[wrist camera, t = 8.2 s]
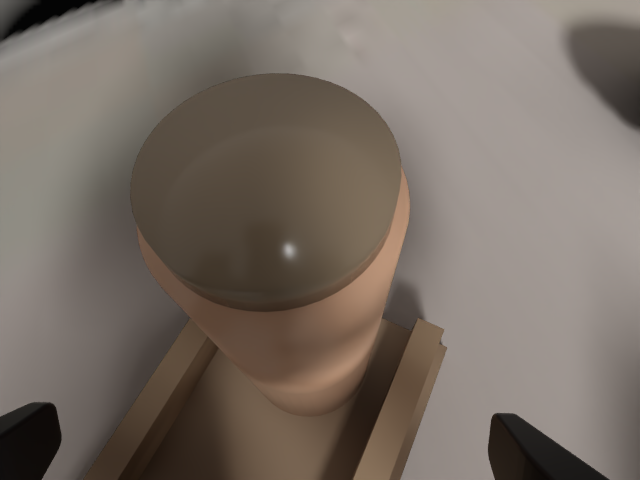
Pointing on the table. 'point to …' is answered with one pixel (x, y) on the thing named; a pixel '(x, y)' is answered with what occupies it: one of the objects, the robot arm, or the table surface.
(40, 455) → the robot arm
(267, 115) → the jar
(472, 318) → the table surface
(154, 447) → the wooden drawer
